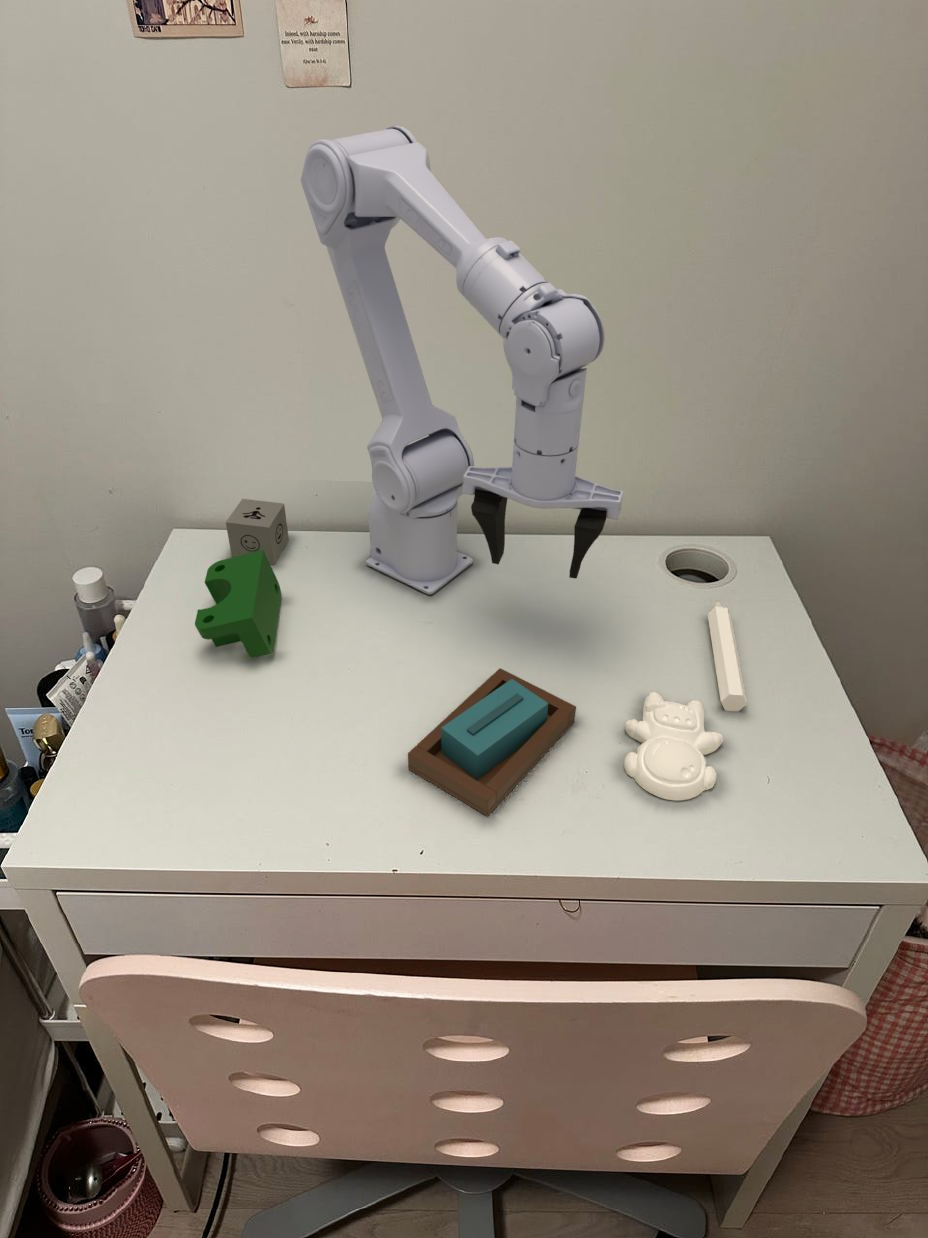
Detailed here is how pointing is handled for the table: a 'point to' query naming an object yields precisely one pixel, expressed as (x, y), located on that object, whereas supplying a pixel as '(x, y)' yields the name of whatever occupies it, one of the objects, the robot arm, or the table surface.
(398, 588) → the table surface
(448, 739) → the teal rectangular block
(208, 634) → the clamp
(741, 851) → the table surface
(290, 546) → the table surface
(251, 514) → the dice cube
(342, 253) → the robot arm
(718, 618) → the marker
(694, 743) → the cream flat figure
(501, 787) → the frame
